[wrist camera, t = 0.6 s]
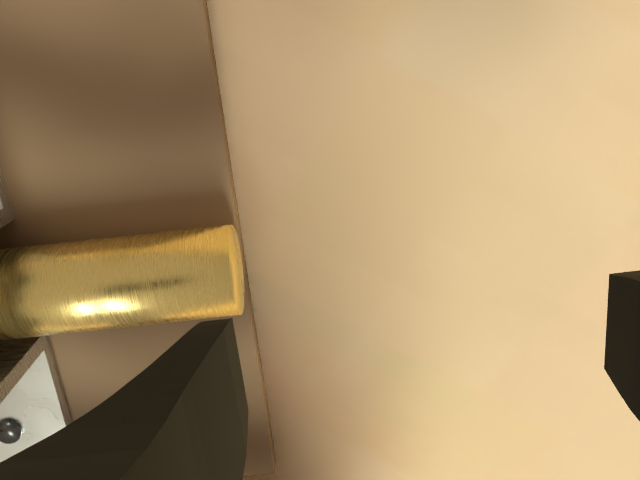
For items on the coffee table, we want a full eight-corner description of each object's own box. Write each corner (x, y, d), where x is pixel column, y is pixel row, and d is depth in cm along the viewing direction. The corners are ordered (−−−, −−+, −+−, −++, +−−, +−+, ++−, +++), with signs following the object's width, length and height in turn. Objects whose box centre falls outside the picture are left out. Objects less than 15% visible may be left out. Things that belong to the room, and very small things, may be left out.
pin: (234, 213, 19) (224, 241, 16) (246, 292, 20) (239, 330, 17) (-73, 246, 19) (-132, 279, 16) (-47, 323, 20) (-99, 366, 17)
